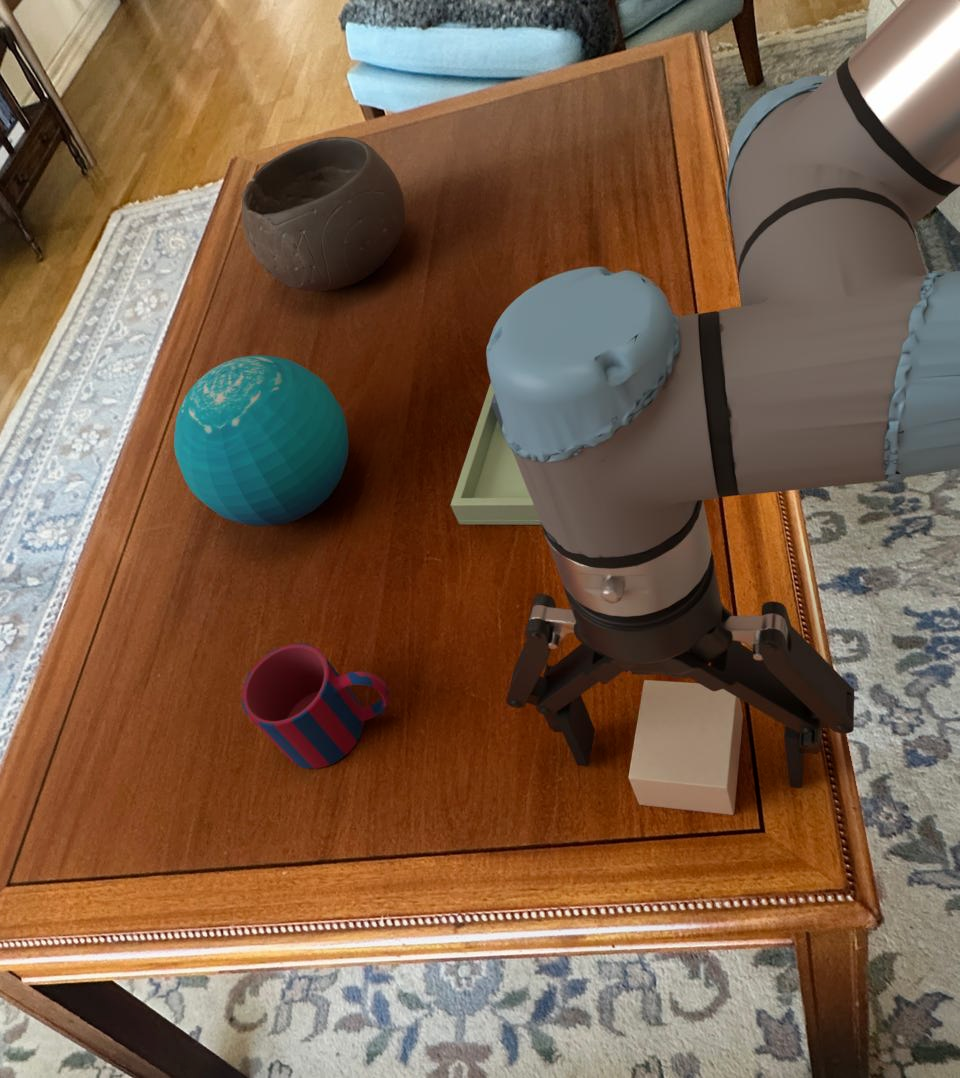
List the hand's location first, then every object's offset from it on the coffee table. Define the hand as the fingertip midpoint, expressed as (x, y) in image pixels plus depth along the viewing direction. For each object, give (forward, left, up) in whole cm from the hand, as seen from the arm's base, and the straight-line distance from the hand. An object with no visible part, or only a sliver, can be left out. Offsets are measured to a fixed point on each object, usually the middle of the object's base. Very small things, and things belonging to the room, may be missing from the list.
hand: (687, 757), depth 64 cm
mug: (+26, 0, -1) cm, 26 cm away
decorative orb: (+39, -23, -1) cm, 45 cm away
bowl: (+46, -58, -1) cm, 74 cm away
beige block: (0, 0, 0) cm, 0 cm away
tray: (+17, -29, 0) cm, 34 cm away
